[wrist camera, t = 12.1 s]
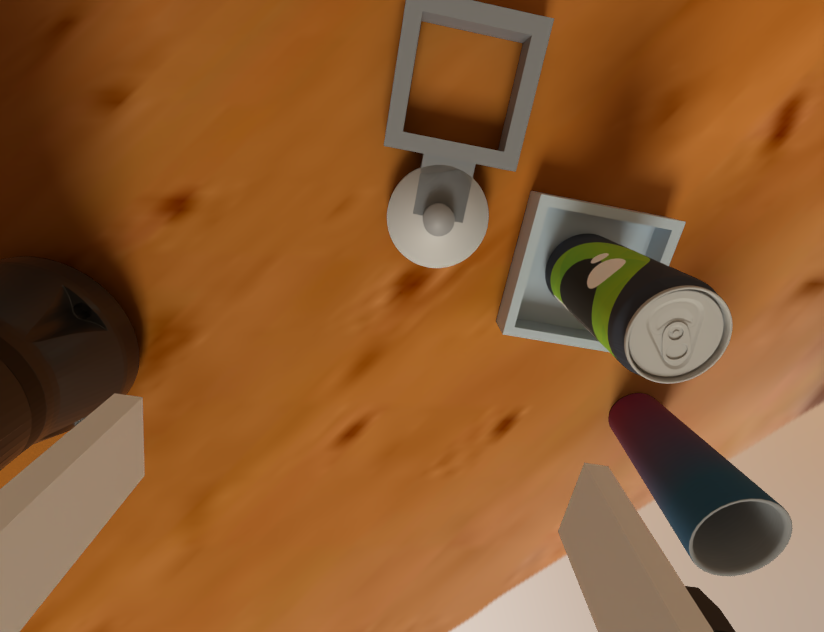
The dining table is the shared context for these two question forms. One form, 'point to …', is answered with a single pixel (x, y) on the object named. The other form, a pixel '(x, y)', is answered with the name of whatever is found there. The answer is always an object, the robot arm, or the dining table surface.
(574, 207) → the tray
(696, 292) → the beverage can
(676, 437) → the cup
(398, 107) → the grey square frame
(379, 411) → the dining table surface
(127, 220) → the dining table surface
